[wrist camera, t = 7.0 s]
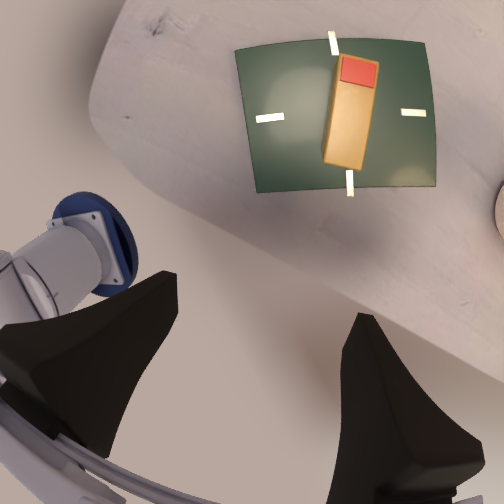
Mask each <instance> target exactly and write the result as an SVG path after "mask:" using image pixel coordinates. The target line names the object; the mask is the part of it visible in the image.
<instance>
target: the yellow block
mask: <svg viewBox="0 0 504 504" xmlns="http://www.w3.org/2000/svg"><path fill="white" fill-rule="evenodd" d="M378 72H379V63H378V62H377V61H373V60H369V59H365V58H361V57H357V56H352V55H348V54H343V53H340V54H339V55H338V58H337V61H336V63H335V66H334V70H333V77H332V85H331V92H330V99H329V106H328V112H327V119H326V125H325V132H324V138H323V144H322V150H321V152H322V158H323V163H325V164H329V165H334V166H339V167H343V168H348V169H352V170H356V171H361V170H362V167H363V162H364V157H365V152H366V147H367V142H368V137H369V131H370V125H371V120H372V114H373V107H374V101H375V94H376V87H377V79H378Z"/></svg>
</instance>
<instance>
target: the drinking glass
mask: <svg viewBox="0 0 504 504" xmlns="http://www.w3.org/2000/svg"><path fill="white" fill-rule="evenodd" d="M495 221H496V225H497V228H498V230H499V233H500V234H501V236H502V237H503V238H504V185H503V186H502V188H501V190H500V192H499V194H498V197H497V200H496V205H495Z"/></svg>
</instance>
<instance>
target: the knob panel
mask: <svg viewBox="0 0 504 504" xmlns="http://www.w3.org/2000/svg"><path fill="white" fill-rule="evenodd" d="M328 37H329V39H316V40H303V41H293V42H284V43H276V44H269V45H262V46H256V47H250V48H245V49H239V50H235V51H234V52H235V58H236V64H237V70H238V76H239V82H240V88H241V94H242V101H243V107H244V113H245V120H246V126H247V133H248V139H249V146H250V152H251V159H252V165H253V172H254V179H255V186H256V192H257V193H270V192H284V191H299V190H316V189H337V188H347V196H354V188H366V187H436V130H435V115H434V103H433V94H432V85H431V78H430V71H429V65H428V59H427V53H426V48H425V43H422V42H413V41H404V40H391V39H370V38H337V39H336V35H335V31H328ZM340 53H343V54H348V55H352V56H357V57H361V58H365V59H369V60H373V61H377V62H378V63H379V72H378V79H377V87H376V94H375V101H374V107H373V114H372V120H371V125H370V131H369V137H368V142H367V147H366V152H365V157H364V162H363V167H362V170H361V171H356V170H352V169H348V168H343V167H339V166H334V165H329V164H325V163H323V158H322V152H321V150H322V144H323V138H324V132H325V125H326V119H327V112H328V106H329V99H330V92H331V85H332V77H333V70H334V66H335V63H336V61H337V58H338V55H339V54H340Z"/></svg>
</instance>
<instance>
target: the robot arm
mask: <svg viewBox="0 0 504 504" xmlns="http://www.w3.org/2000/svg"><path fill="white" fill-rule="evenodd" d="M94 216H95V217H94ZM46 225H47V228H48V231H46V232H45V233H43V234H41V235H40V236H38V237H37V238H35V239H34V240H32V241H31V242H29V243H27V244H26V245H25V246H23V247H22V248H20V249H19V250H17V251H16V252H15V253H14V254H13V255H11V253H10V252H6V251H3V250H0V462H1V463H2V464H3V465H4V466H5V467H6V468H7V469H8V470H9V471H10V472H11V473H12V474H13V475H14V476H15V477H16V478H17V479H18V480H19V481H20V482H21V483H22V484H23V485H24V486H25V487H26V488H27V489H28V490H29V491H30V492H32V494H34V495H35V496H36V497H37V498H38V499H39V500H40V501H42V502H43V503H44V504H125V503H126V499H125V498H123V497H122V496H120V495H118V494H117V493H115V492H114V491H112V490H111V489H110V488H109V487H108V486H107V485H105V484H104V483H102V482H100V481H99V480H97V479H95V478H94V477H92V476H91V475H89V474H87V473H86V471H85V469H86V470H88V471H89V472H91V473H93V474H95V475H96V476H98V477H100V478H102V479H104V480H105V481H107V482H109V483H111V484H113V485H115V486H117V487H119V488H121V489H123V490H125V491H127V492H129V493H132V494H134V495H136V496H138V497H141V498H143V499H145V500H148V501H150V502H152V503H155V504H219V503H215V502H212V501H208V500H205V499H201V498H198V497H195V496H191V495H188V494H185V493H182V492H179V491H176V490H174V489H171V488H168V487H165V486H163V485H160V484H158V483H155V482H153V481H150V480H148V479H145V478H143V477H141V476H139V475H136V474H134V473H132V472H130V471H128V470H125V469H123V468H121V467H119V466H117V465H115V464H113V463H111V462H109V461H107V460H105V458H108V457H109V455H110V451H111V448H112V444H113V442H114V439H115V435H116V432H117V429H118V427H119V424H120V421H121V419H122V416H123V414H124V412H125V409H126V407H127V404H128V402H129V400H130V398H131V395H132V393H133V391H134V389H135V387H136V385H137V383H138V381H139V379H140V377H141V375H142V373H143V372H144V370H145V369H146V367H147V365H148V364H149V363H150V361H151V360H152V357H153V356H154V355H155V353H156V352H157V350H158V349H159V347H160V346H161V344H162V343H163V341H164V339H165V338H166V336H167V335H168V333H169V331H170V329H171V327H172V325H173V323H174V321H175V319H176V317H177V314H178V299H177V298H178V297H177V274H176V273H172V272H168V271H161V272H158V273H156V274H154V275H153V276H151V277H149V278H147V279H145V280H143V281H141V282H140V283H137V284H136V285H134V286H132V287H130V288H128V289H126V290H124V291H122V292H120V293H118V294H116V295H114V296H112V297H110V298H108V299H106V300H103V301H101V302H99V303H96V304H94V305H92V306H89V307H86V308H83V309H81V310H78V311H75V312H71V311H72V310H73V309H74V308H75V307H76V306H77V305H78V304H79V303H80V302H81V301H82V300H83V299H84V298H85V297H86V296H87V295H88V294H89V293H90V292H91V291H92V290H93V289H94V288H95V287H96V286H97V285H98V284H113V285H122V284H123V283H124V282H125V280H124V277H123V274H122V272H121V269H120V266H119V263H118V260H117V258H116V255H115V252H114V249H113V246H112V243H111V240H110V237H109V234H108V231H107V227H106V224H105V221H104V218H103V214H102V213H101V211H92V212H87V213H81V214H76V215H71V216H66V217H61V218H56V219H51V220H49V221H47V222H46ZM70 312H71V313H70ZM340 372H341V373H340V375H341V376H340V377H341V433H340V440H339V447H338V454H337V459H336V465H335V470H334V475H333V479H332V483H331V488H330V491H329V495H328V499H327V502H326V504H452V497H454V496H456V494H457V490H456V487H457V486H458V485H460V484H462V483H463V482H465V481H467V480H468V479H470V478H471V477H473V476H474V475H476V474H477V473H479V472H480V470H482V469H483V467H484V465H485V459H484V453H483V449H482V443H481V441H479V440H478V439H476V438H475V437H473V436H472V435H471V434H469V433H468V432H467V431H465V430H464V429H462V428H461V427H460V426H459V425H458V424H457V423H455V422H454V421H453V420H452V419H451V418H450V417H449V416H447V415H446V414H445V413H444V412H443V411H442V410H441V409H440V408H439V407H438V406H437V405H436V404H435V403H434V402H433V401H432V400H431V398H430V397H429V396H428V395H427V394H426V393H425V392H424V391H423V389H422V388H421V387H420V386H419V384H418V383H417V382H416V381H415V379H414V378H413V377H412V376H411V374H410V373H409V371H408V370H407V368H406V367H405V365H404V364H403V363H402V361H401V360H400V358H399V357H398V355H397V354H396V352H395V350H394V349H393V347H392V346H391V344H390V342H389V341H388V339H387V337H386V336H385V334H384V332H383V331H382V329H381V327H380V326H379V324H378V322H377V321H376V319H375V318H374V316H373V315H369V314H364V313H358V315H357V317H356V319H355V322H354V324H353V326H352V329H351V331H350V334H349V336H348V338H347V340H346V343H345V345H344V347H343V349H342V360H341V371H340ZM453 504H483V497H482V495H479V496H475V497H472V498H468V499H465V500H461V501H458V502H455V503H453Z"/></svg>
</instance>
